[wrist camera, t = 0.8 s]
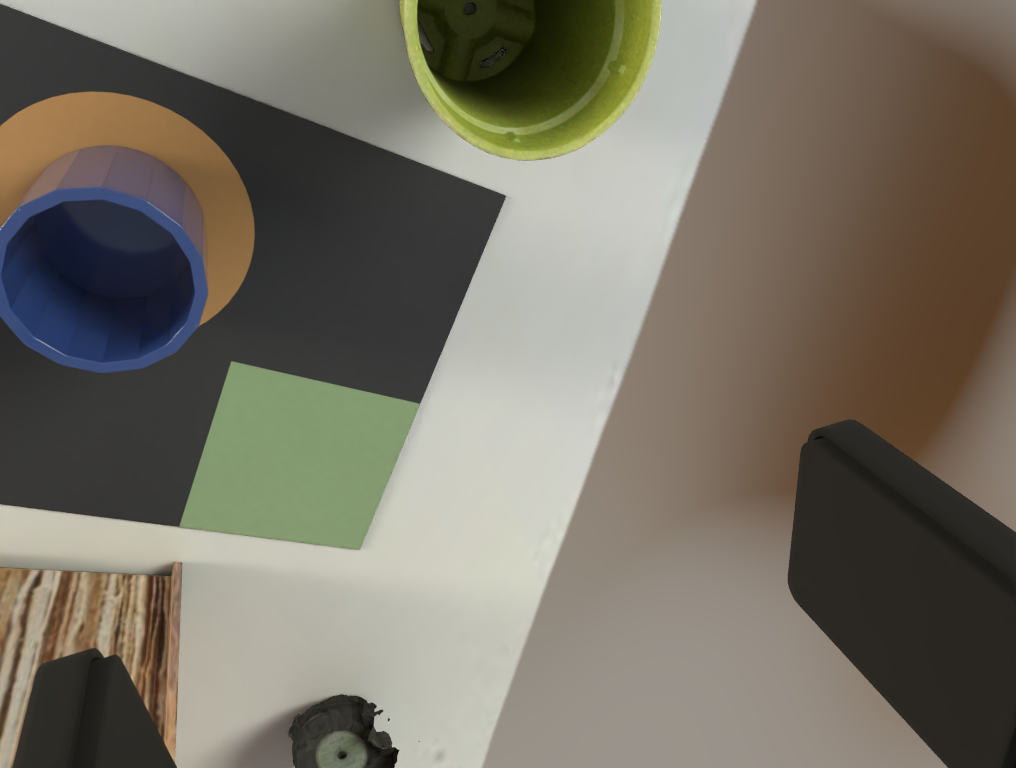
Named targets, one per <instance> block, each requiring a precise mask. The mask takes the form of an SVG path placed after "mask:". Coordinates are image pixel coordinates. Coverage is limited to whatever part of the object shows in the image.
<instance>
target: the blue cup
mask: <svg viewBox="0 0 1016 768" xmlns="http://www.w3.org/2000/svg"><path fill="white" fill-rule="evenodd" d="M207 297H208V240H207V233H206V224H205V219H204V214H203V211H202V208H201V206H200V203H199V201H198V199H197V197H196V195H195V194H194V192H193V191H192V189H191V188H190V186H189V185H188V184H187V183H186V181H185V180H184V179H183V178H182V177H181V176H180V175H179V174H178V173H177V172H176V171H174V170H173V169H172V168H171V167H169V166H168V165H167V164H165V163H164V162H162V161H161V160H159V159H157V158H155V157H153V156H151V155H149V154H146V153H144V152H141V151H139V150H135V149H131V148H127V147H121V146H114V145H99V146H89V147H85V148H81V149H77V150H74V151H72V152H69V153H67V154H65V155H63V156H61V157H59V158H58V159H56V160H55V161H54V162H52V163H50V164H49V165H48V166H47V167H46V168H45V169H44V171H43V172H42V173H41V174H40V175H39V177H38V178H37V179H36V180H35V181H34V183H33V184H32V185H31V186H30V188H29V189H28V190H27V191H26V193H25V194H24V196H23V197H22V198H21V200H20V201H19V202H18V204H17V205H16V206H15V208H14V209H13V210H12V212H11V213H10V215H9V216H8V217H7V219H6V220H5V221H4V223H3V224H2V225H1V227H0V317H1V318H2V319H3V320H4V322H5V323H6V324H7V325H8V326H9V327H10V329H11V330H12V331H13V332H14V333H15V334H16V336H17V337H18V338H19V339H20V340H21V341H22V343H25V345H26V346H28V347H30V348H31V349H33V350H35V351H37V352H38V353H40V354H42V355H44V356H46V357H47V358H49V359H51V360H53V361H54V362H56V363H58V364H60V365H63V366H68V367H73V368H77V369H82V370H87V371H92V372H97V373H111V372H120V371H129V370H138V369H142V368H145V367H147V366H149V365H151V364H153V363H155V362H157V361H159V360H161V359H163V358H166V357H168V356H170V355H172V354H174V353H175V352H177V351H178V349H179V348H180V347H181V346H182V345H183V344H184V343H185V342H186V340H187V339H188V338H189V337H190V336H191V335H192V334H193V333H194V331H195V330H196V329H197V328H198V326H199V324H200V321H201V317H202V314H203V311H204V307H205V304H206V301H207Z"/></svg>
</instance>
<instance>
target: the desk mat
mask: <svg viewBox="0 0 1016 768" xmlns="http://www.w3.org/2000/svg"><path fill="white" fill-rule="evenodd" d="M99 145H114V146H121V147H127V148H131V149H135V150H139V151H141V152H144V153H146V154H149V155H151V156H153V157H155V158H157V159H159V160H161V161H162V162H164V163H165V164H167V165H168V166H169V167H171V168H172V169H173V170H174V171H176V172H177V173H178V174H179V175H180V176H181V177H182V178H183V179H184V180H185V181H186V183H187V184H188V185H189V186H190V188H191V189H192V191H193V192H194V194H195V195H196V197H197V199H198V201H199V203H200V206H201V208H202V211H203V214H204V219H205V224H206V233H207V240H208V297H207V301H206V304H205V307H204V311H203V314H202V317H201V321H200V324H199V326H198V328H197V329H196V330H195V331H194V333H193V334H192V335H191V336H190V337H189V338H188V339H187V340H186V342H185V343H184V344H183V345H182V346H181V347H180V348H179V349H178V351H177V352H175V353H174V354H172V355H170V356H168V357H166V358H163V359H161V360H159V361H157V362H155V363H153V364H151V365H149V366H147V367H145V368H142V369H138V370H129V371H120V372H111V373H97V372H92V371H87V370H82V369H77V368H73V367H68V366H63V365H60V364H58V363H56V362H54V361H53V360H51V359H49V358H47V357H46V356H44V355H42V354H40V353H38V352H37V351H35V350H33V349H31V348H30V347H28V346H26V345H25V343H22V341H21V340H20V339H19V338H18V337H17V336H16V334H15V333H14V332H13V331H12V330H11V329H10V327H9V326H8V325H7V324H6V323H5V322H4V320H3V319H2V318H1V317H0V504H5V505H12V506H20V507H28V508H36V509H44V510H52V511H60V512H67V513H75V514H83V515H91V516H99V517H107V518H115V519H122V520H130V521H138V522H146V523H154V524H162V525H170V526H178V527H185V528H192V529H200V530H208V531H216V532H224V533H232V534H240V535H247V536H255V537H263V538H271V539H279V540H287V541H295V542H303V543H310V544H318V545H326V546H334V547H342V548H350V549H358V550H360V548H361V545H362V543H363V541H364V538H365V536H366V533H367V531H368V528H369V526H370V524H371V521H372V519H373V516H374V514H375V512H376V509H377V507H378V504H379V502H380V499H381V497H382V495H383V492H384V490H385V487H386V485H387V483H388V480H389V478H390V475H391V473H392V471H393V468H394V466H395V463H396V461H397V458H398V456H399V454H400V451H401V449H402V446H403V444H404V442H405V439H406V437H407V434H408V432H409V429H410V427H411V425H412V422H413V420H414V417H415V415H416V413H417V410H418V408H419V405H420V403H421V400H422V398H423V396H424V393H425V391H426V388H427V386H428V383H429V381H430V379H431V376H432V374H433V371H434V369H435V367H436V364H437V362H438V359H439V357H440V355H441V352H442V350H443V347H444V345H445V342H446V340H447V338H448V335H449V333H450V330H451V328H452V326H453V323H454V321H455V318H456V316H457V313H458V311H459V309H460V306H461V304H462V301H463V299H464V297H465V294H466V292H467V289H468V287H469V284H470V282H471V280H472V277H473V275H474V272H475V270H476V268H477V265H478V263H479V260H480V258H481V256H482V253H483V251H484V248H485V246H486V243H487V241H488V239H489V236H490V234H491V231H492V229H493V227H494V224H495V222H496V219H497V217H498V214H499V212H500V210H501V207H502V205H503V202H504V200H505V198H506V196H505V195H502V194H500V193H497V192H494V191H492V190H489V189H486V188H484V187H481V186H479V185H476V184H473V183H471V182H468V181H465V180H463V179H460V178H457V177H455V176H452V175H450V174H447V173H444V172H442V171H439V170H436V169H434V168H431V167H428V166H426V165H423V164H421V163H418V162H415V161H413V160H410V159H407V158H405V157H402V156H399V155H397V154H394V153H392V152H389V151H386V150H384V149H381V148H378V147H376V146H373V145H370V144H368V143H365V142H363V141H360V140H357V139H355V138H352V137H349V136H347V135H344V134H341V133H339V132H336V131H334V130H331V129H328V128H326V127H323V126H320V125H318V124H315V123H312V122H310V121H307V120H305V119H302V118H299V117H297V116H294V115H291V114H289V113H286V112H283V111H281V110H278V109H276V108H273V107H270V106H268V105H265V104H262V103H260V102H257V101H254V100H252V99H249V98H247V97H244V96H241V95H239V94H236V93H233V92H231V91H228V90H225V89H223V88H220V87H218V86H215V85H212V84H210V83H207V82H204V81H202V80H199V79H196V78H194V77H191V76H189V75H186V74H183V73H181V72H178V71H175V70H173V69H170V68H167V67H165V66H162V65H160V64H157V63H154V62H152V61H149V60H146V59H144V58H141V57H138V56H136V55H133V54H131V53H128V52H125V51H123V50H120V49H117V48H115V47H112V46H109V45H107V44H104V43H102V42H99V41H96V40H94V39H91V38H88V37H86V36H83V35H80V34H78V33H75V32H73V31H70V30H67V29H65V28H62V27H59V26H57V25H54V24H51V23H49V22H46V21H44V20H41V19H38V18H36V17H33V16H30V15H28V14H25V13H22V12H20V11H17V10H15V9H12V8H9V7H7V6H4V5H1V4H0V227H1V225H2V224H3V223H4V221H5V220H6V219H7V217H8V216H9V215H10V213H11V212H12V210H13V209H14V208H15V206H16V205H17V204H18V202H19V201H20V200H21V198H22V197H23V196H24V194H25V193H26V191H27V190H28V189H29V188H30V186H31V185H32V184H33V183H34V181H35V180H36V179H37V178H38V177H39V175H40V174H41V173H42V172H43V171H44V169H45V168H46V167H47V166H48V165H49V164H50V163H52V162H54V161H55V160H56V159H58V158H59V157H61V156H63V155H65V154H67V153H69V152H72V151H74V150H77V149H81V148H85V147H89V146H99Z"/></svg>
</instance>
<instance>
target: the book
mask: <svg viewBox="0 0 1016 768" xmlns="http://www.w3.org/2000/svg"><path fill="white" fill-rule="evenodd" d="M181 581H182V563H179V562H174V566H173V570H172V574H171V576H156V575H137V574H117V573H98V572H78V571H58V570H39V569H19V568H0V768H12V767H13V763H14V759H15V755H16V751H17V747H18V743H19V739H20V735H21V731H22V727H23V723H24V719H25V715H26V711H27V707H28V703H29V699H30V695H31V691H32V686H33V682H34V678H35V675H36V672H37V669H38V667H39V666H40V665H41V664H42V663H45V662H48V661H51V660H55V659H58V658H61V657H65V656H68V655H71V654H74V653H78V652H81V651H84V650H88V649H91V648H96V649H98V650H99V651H100V652H101V653H102V655H103V656H104V657H108V656H111V655H115V654H117V655H118V656H119V657H120V658H121V660H122V661H123V663H124V665H125V667H126V669H127V671H128V673H129V675H130V677H131V679H132V681H133V683H134V685H135V687H136V689H137V691H138V692H139V694H140V696H141V698H142V700H143V702H144V704H145V706H146V708H147V710H148V712H149V714H150V716H151V718H152V720H153V722H154V724H155V726H156V728H157V729H158V731H159V733H160V735H161V737H162V739H163V741H164V743H165V745H166V747H167V749H168V751H169V753H170V755H171V757H172V759H173V761H174V763H175V749H176V721H177V693H178V665H179V637H180V609H181Z"/></svg>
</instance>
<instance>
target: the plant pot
mask: <svg viewBox="0 0 1016 768" xmlns="http://www.w3.org/2000/svg"><path fill="white" fill-rule="evenodd" d="M468 3H474V4H475V6H476V12H475V13H474V14H472V15H467V14H466V13H465V11H464V10H465V6H466V5H467V4H468ZM400 16H401V22H402V27H403V30H404V34H405V42H406V47H407V52H408V56H409V60H410V63H411V66H412V69H413V72H414V75H415V77H416V80H417V82H418V84H419V86H420V88H421V90H422V92H423V94H424V96H425V97H426V99H427V101H428V102H429V104H430V105H431V107H432V108H433V110H434V111H435V112H436V113H437V114H438V116H439V117H440V118H441V119H442V120H443V121H444V122H445V123H446V124H447V126H448V127H450V128H451V129H452V130H453V131H454V132H455V133H456V134H457V135H459V136H460V137H461V138H463V139H464V140H466V141H467V142H469V143H470V144H472V145H473V146H475V147H477V148H479V149H481V150H483V151H485V152H487V153H490V154H493V155H496V156H499V157H503V158H508V159H514V160H524V161H528V160H543V159H549V158H554V157H558V156H562V155H565V154H568V153H570V152H573V151H575V150H577V149H579V148H581V147H583V146H584V145H586V144H587V143H589V142H591V141H592V140H594V139H595V138H597V137H598V136H600V135H601V134H602V133H603V132H605V131H606V130H607V129H608V128H609V127H610V126H611V125H612V124H613V123H614V122H615V121H616V120H617V119H618V118H619V117H620V116H621V115H622V114H623V113H624V111H625V110H626V109H627V108H628V106H629V105H630V104H631V102H632V101H633V99H634V98H635V96H636V95H637V93H638V91H639V89H640V87H641V85H642V83H643V81H644V79H645V77H646V75H647V72H648V70H649V68H650V65H651V63H652V60H653V57H654V53H655V50H656V45H657V40H658V36H659V30H660V23H661V0H400ZM417 22H420V23H421V24H422V27H423V30H424V32H425V35H426V37H427V39H428V40H429V42H430V43H431V46H432V47H433V48H434V52H432V51H428V50H427V49H426V48H425V47H424V46H423V45H422V43H421V42H420V40H419V34H418V25H417ZM502 47H503V48H505V49H506V50H505V55H504V56H503V57H501V58H500V59H498V60H497V61H496V62H495V63H494V64H493V65H492V66H489V67H486V68H483V67H481V66H480V63H481V61H483V60H485V59H487V58H488V57H490V56H492V55H494V54H495V53H497V52H498V51H499V50H500V49H501V48H502Z"/></svg>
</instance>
